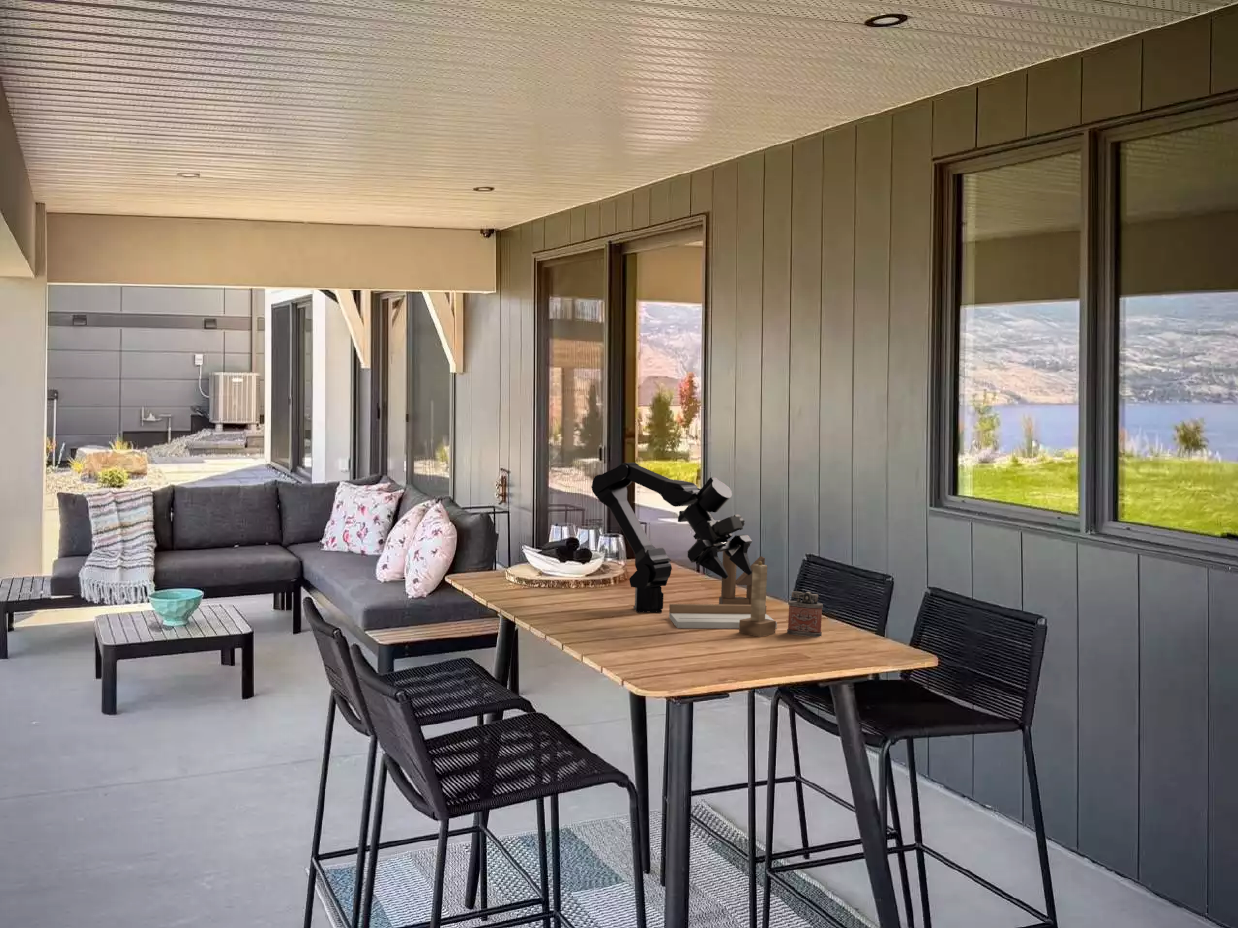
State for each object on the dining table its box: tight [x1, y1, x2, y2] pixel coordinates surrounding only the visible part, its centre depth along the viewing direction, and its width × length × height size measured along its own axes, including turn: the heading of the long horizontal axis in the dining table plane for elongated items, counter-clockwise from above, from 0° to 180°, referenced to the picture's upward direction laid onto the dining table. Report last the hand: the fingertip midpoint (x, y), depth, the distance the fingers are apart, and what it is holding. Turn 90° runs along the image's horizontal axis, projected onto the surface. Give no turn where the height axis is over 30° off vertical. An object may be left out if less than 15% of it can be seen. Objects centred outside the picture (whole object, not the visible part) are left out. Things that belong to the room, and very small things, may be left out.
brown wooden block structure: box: [718, 540, 766, 605], centre depth 300 cm, size 4×11×18 cm, turn 100°
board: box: [668, 603, 778, 630], centre depth 285 cm, size 24×12×4 cm, turn 97°
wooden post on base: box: [738, 561, 777, 638], centre depth 274 cm, size 6×6×17 cm
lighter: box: [786, 590, 824, 638], centre depth 275 cm, size 8×3×10 cm, turn 71°
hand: (738, 575), depth 278 cm, fingers open, 9 cm apart
